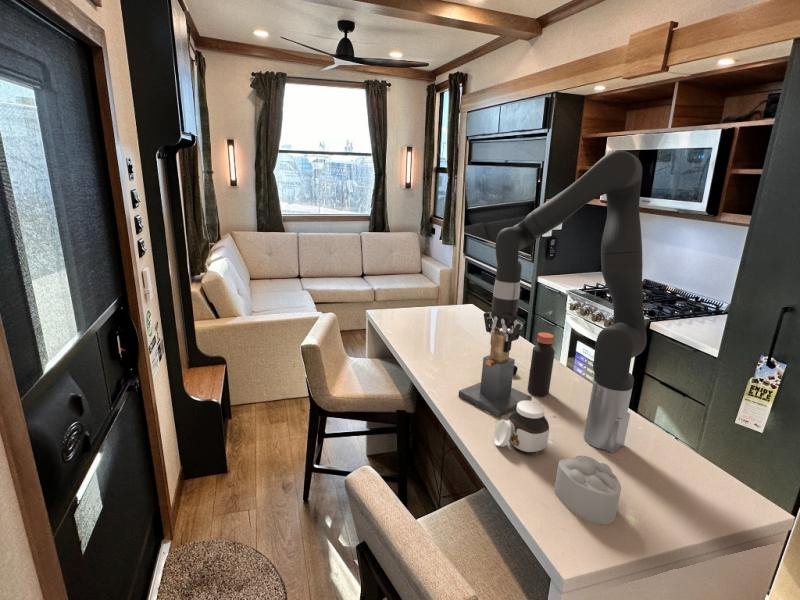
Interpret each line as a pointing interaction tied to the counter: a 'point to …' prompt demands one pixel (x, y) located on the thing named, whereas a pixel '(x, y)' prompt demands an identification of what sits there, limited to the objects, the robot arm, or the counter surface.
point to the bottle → (541, 365)
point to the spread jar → (524, 428)
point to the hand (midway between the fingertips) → (500, 349)
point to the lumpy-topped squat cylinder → (588, 489)
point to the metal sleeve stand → (495, 389)
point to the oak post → (498, 347)
